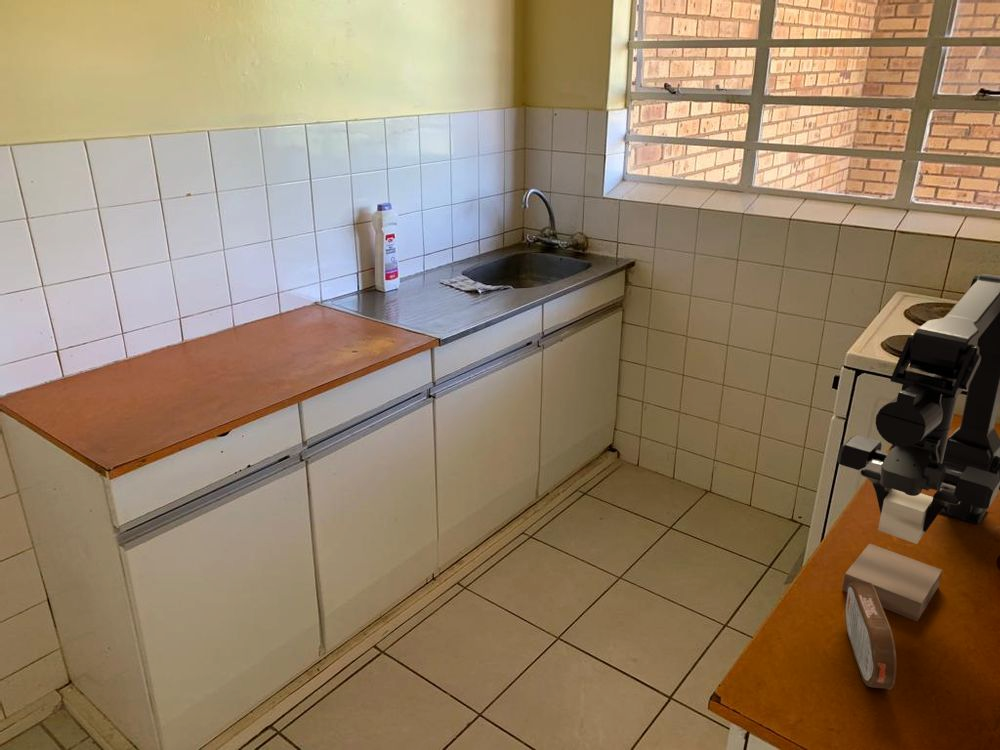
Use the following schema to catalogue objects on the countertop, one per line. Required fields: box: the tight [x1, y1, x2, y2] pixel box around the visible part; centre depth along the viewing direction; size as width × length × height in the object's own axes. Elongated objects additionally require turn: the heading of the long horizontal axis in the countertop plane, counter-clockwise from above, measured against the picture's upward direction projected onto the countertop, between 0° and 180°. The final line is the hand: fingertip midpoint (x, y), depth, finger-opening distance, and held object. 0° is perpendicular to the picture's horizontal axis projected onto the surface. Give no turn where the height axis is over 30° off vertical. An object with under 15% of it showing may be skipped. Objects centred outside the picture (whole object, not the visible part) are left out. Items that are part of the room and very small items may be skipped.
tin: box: [844, 582, 897, 690], centre depth 94 cm, size 15×3×8 cm, turn 168°
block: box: [877, 489, 933, 545], centre depth 104 cm, size 5×5×5 cm
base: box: [841, 543, 943, 622], centre depth 108 cm, size 10×10×3 cm
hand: (904, 523), depth 105 cm, fingers closed on block, 5 cm apart
